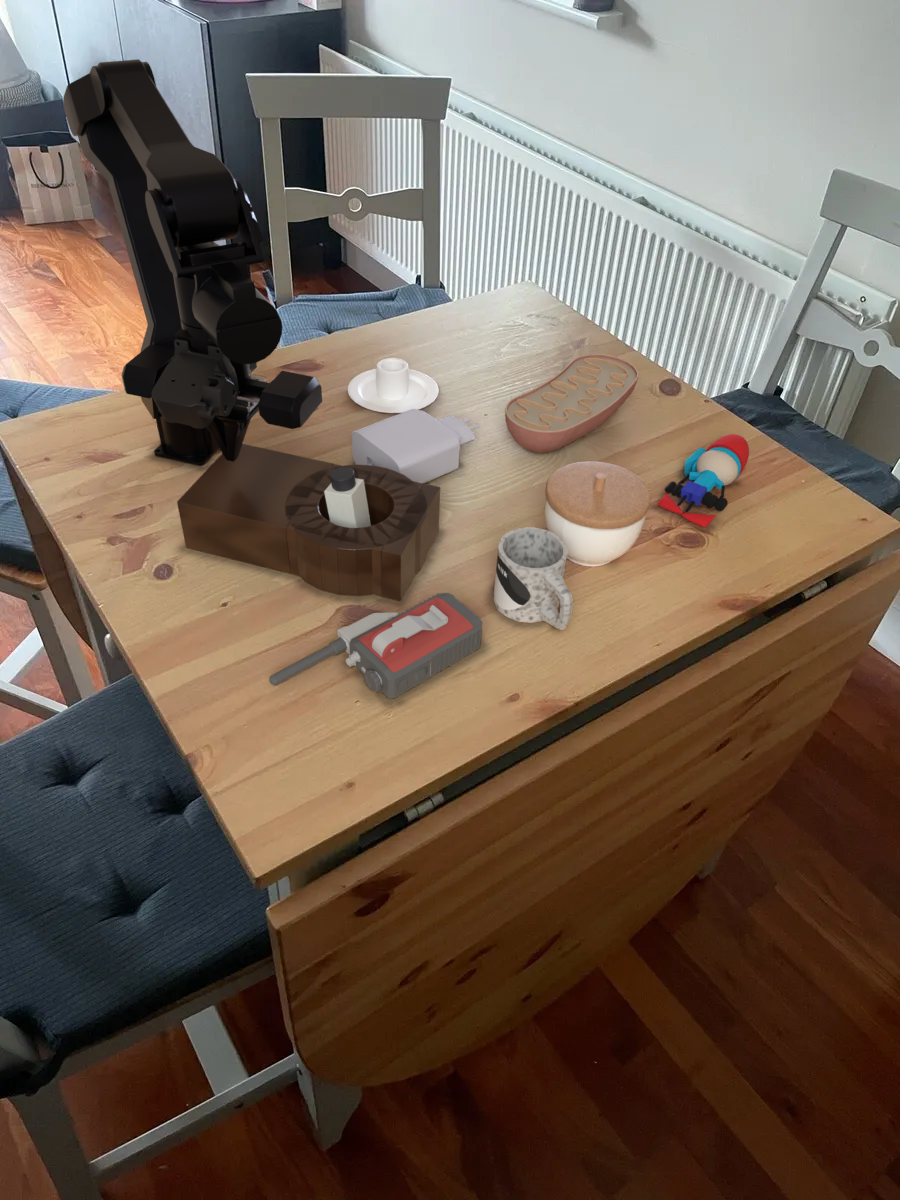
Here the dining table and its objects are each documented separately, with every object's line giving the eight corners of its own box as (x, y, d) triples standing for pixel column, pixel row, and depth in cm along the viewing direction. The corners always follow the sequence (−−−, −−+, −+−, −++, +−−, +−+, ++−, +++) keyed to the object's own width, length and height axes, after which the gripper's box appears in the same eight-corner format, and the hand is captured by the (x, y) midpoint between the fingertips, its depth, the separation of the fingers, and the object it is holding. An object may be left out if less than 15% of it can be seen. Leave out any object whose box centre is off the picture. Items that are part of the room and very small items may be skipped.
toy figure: (709, 541, 103) (766, 465, 110) (713, 508, 99) (771, 432, 106) (649, 519, 106) (707, 447, 114) (650, 487, 103) (710, 414, 110)
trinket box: (657, 550, 99) (675, 478, 92) (596, 595, 93) (611, 521, 87) (580, 506, 104) (592, 435, 98) (518, 546, 98) (526, 474, 92)
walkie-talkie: (436, 594, 92) (265, 685, 82) (437, 560, 89) (260, 650, 79) (495, 643, 87) (320, 745, 77) (498, 608, 84) (317, 711, 74)
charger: (497, 455, 111) (399, 499, 104) (449, 423, 116) (352, 462, 109) (500, 421, 108) (399, 463, 101) (450, 389, 113) (350, 427, 106)
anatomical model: (586, 380, 126) (591, 346, 123) (649, 405, 122) (656, 371, 118) (487, 448, 112) (490, 412, 109) (554, 479, 108) (559, 442, 105)
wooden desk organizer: (179, 554, 95) (170, 508, 91) (244, 480, 105) (238, 435, 101) (398, 610, 90) (398, 563, 86) (443, 526, 100) (446, 481, 96)
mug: (481, 590, 93) (485, 538, 88) (535, 571, 95) (542, 520, 91) (535, 652, 86) (542, 600, 82) (592, 630, 89) (602, 579, 85)
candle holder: (386, 363, 127) (386, 334, 124) (456, 391, 122) (457, 361, 120) (329, 397, 120) (327, 367, 117) (401, 428, 115) (401, 397, 112)
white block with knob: (321, 479, 90) (349, 483, 89) (335, 463, 92) (361, 467, 91) (336, 554, 96) (361, 559, 95) (348, 538, 98) (373, 542, 97)
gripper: (70, 335, 80) (108, 482, 90) (266, 374, 76) (281, 523, 87) (140, 285, 88) (167, 426, 98) (320, 319, 84) (328, 461, 94)
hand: (232, 459), depth 94 cm, fingers closed
